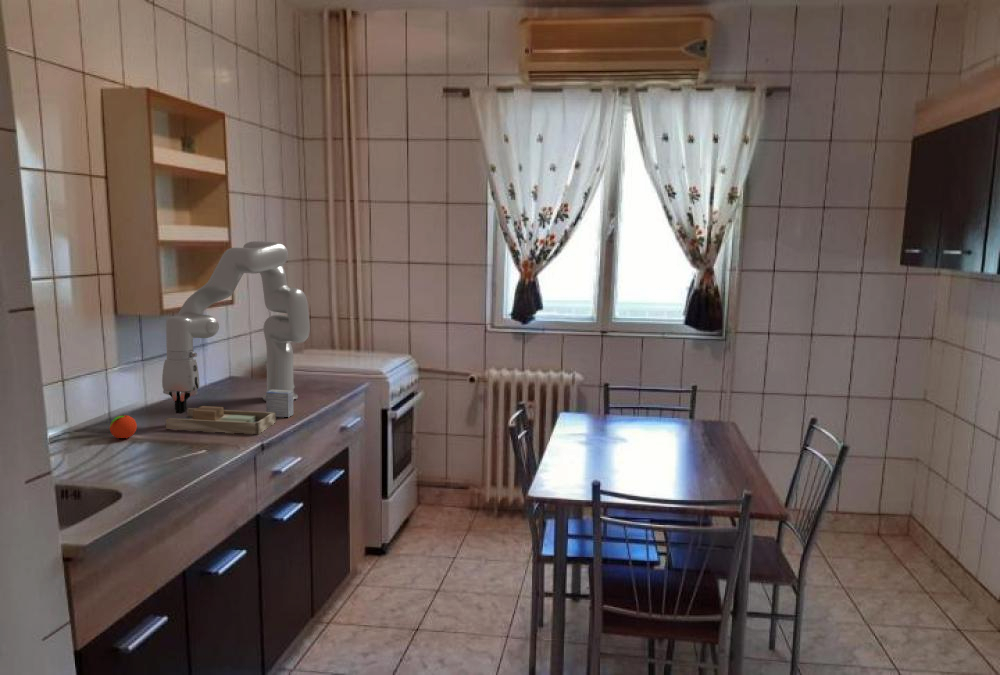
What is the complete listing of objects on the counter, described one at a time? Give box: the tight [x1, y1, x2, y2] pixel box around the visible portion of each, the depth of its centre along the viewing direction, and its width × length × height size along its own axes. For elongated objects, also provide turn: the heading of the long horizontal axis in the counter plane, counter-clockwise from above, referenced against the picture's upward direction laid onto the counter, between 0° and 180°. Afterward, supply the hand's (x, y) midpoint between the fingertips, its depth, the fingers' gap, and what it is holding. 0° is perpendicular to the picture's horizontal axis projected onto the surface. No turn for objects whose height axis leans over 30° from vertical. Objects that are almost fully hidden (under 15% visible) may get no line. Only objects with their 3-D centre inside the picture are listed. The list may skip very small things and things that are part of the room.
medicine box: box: [265, 390, 294, 419], centre depth 228 cm, size 8×4×9 cm, turn 84°
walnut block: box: [193, 405, 225, 421], centre depth 213 cm, size 6×7×3 cm
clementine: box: [109, 414, 138, 439], centre depth 196 cm, size 8×7×7 cm
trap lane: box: [165, 407, 277, 436], centre depth 213 cm, size 14×29×4 cm, turn 87°
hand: (180, 412), depth 213 cm, fingers closed
